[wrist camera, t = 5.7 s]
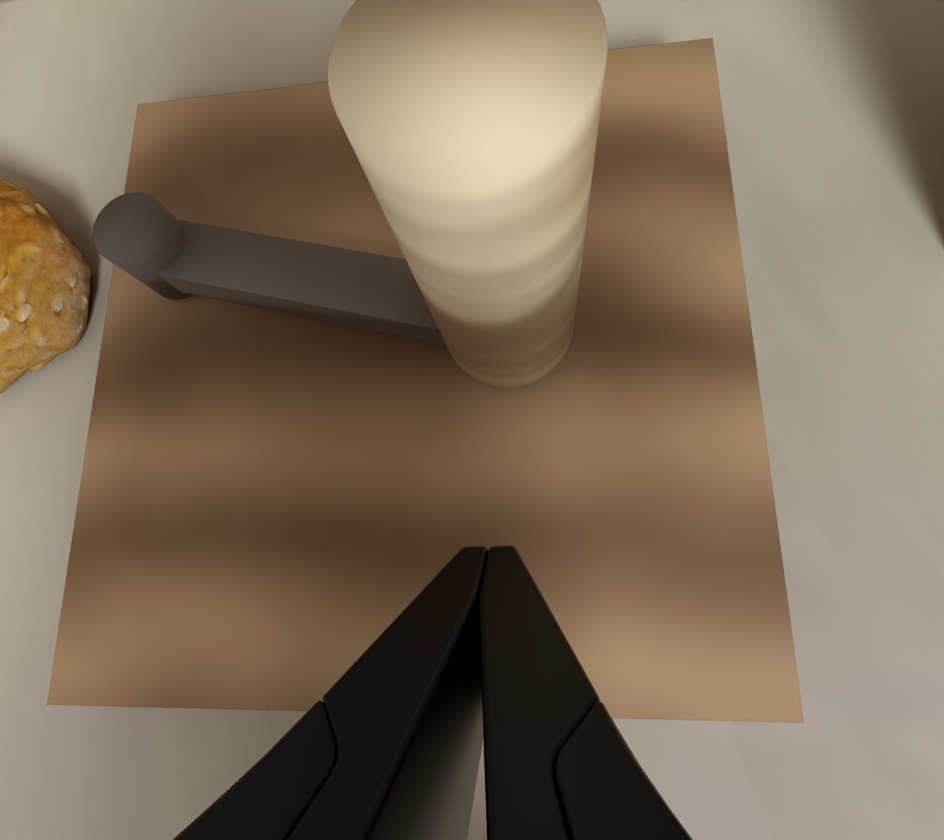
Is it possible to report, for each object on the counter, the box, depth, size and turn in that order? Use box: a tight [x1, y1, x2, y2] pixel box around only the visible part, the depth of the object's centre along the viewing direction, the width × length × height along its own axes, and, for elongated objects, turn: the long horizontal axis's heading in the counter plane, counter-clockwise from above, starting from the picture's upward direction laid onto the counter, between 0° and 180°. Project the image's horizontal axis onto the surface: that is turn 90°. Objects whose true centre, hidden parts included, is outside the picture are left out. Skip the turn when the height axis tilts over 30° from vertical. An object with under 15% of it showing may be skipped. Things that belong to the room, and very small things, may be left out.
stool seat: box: [47, 38, 804, 723], centre depth 20 cm, size 22×22×3 cm
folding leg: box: [93, 0, 608, 388], centre depth 14 cm, size 4×15×10 cm, turn 76°
